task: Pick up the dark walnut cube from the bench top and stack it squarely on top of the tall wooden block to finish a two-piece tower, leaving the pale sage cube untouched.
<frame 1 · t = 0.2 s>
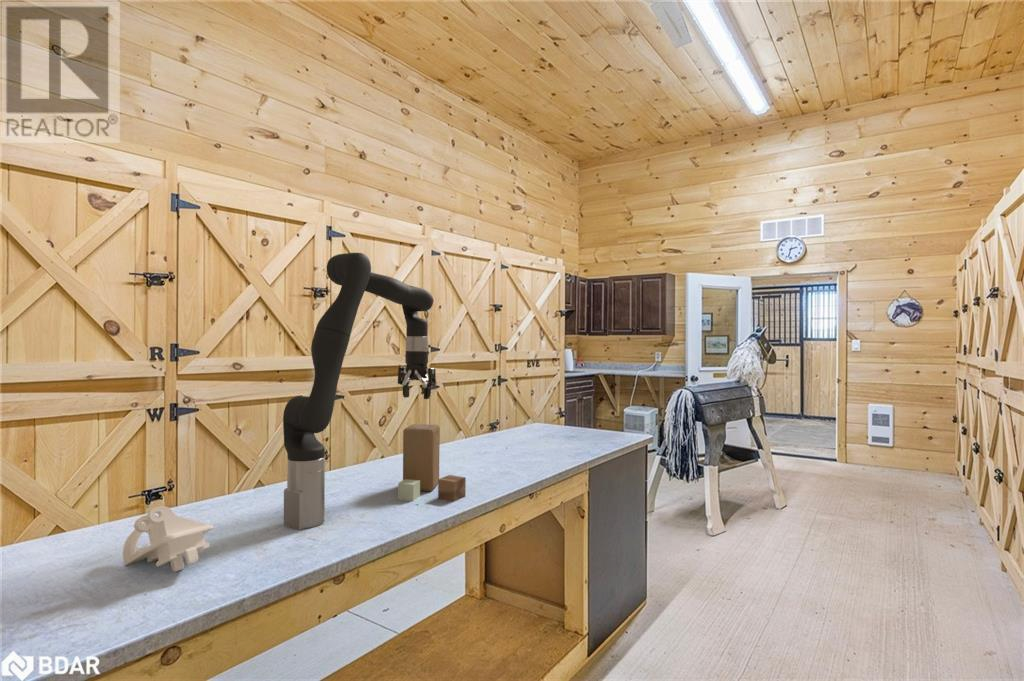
hand: (416, 398, 180), 29 cm above the counter, fingers open, 8 cm apart
beige angular piece: (166, 567, 114), on the counter
wooden block: (421, 487, 175), on the counter
sage cube: (409, 498, 164), on the counter
walnut cube: (451, 497, 165), on the counter
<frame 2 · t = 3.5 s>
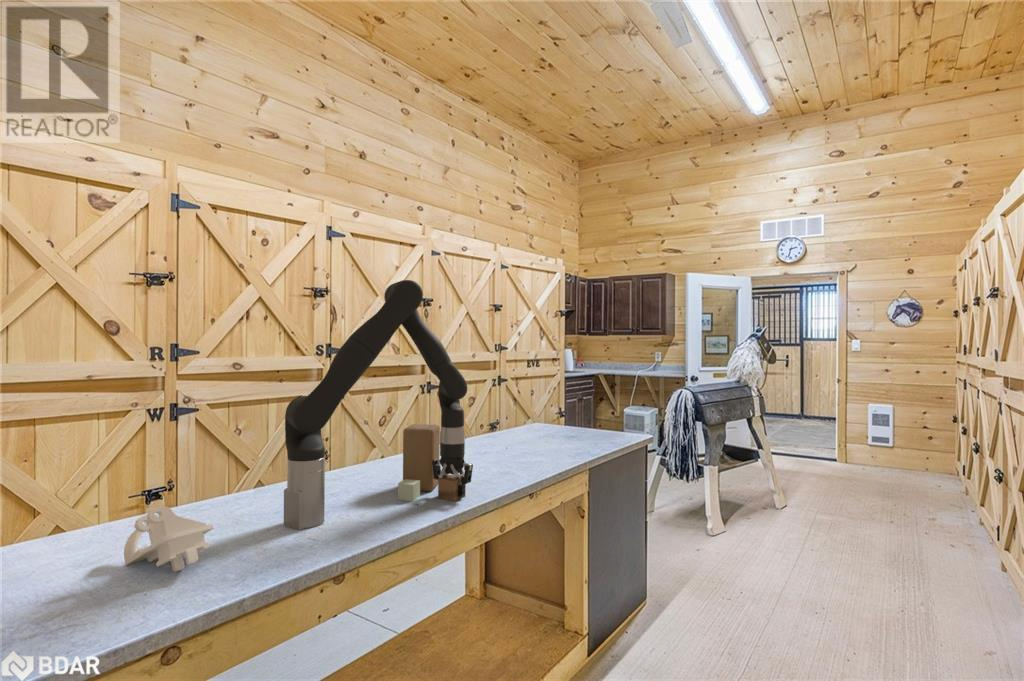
hand: (452, 495, 165), 1 cm above the counter, fingers closed on walnut cube, 6 cm apart
walnut cube: (451, 497, 165), on the counter, touching gripper
everything else where it was.
when the fingers open (22 cm above the counter, at t = 9.9 s): walnut cube drops 1 cm, resting on wooden block.
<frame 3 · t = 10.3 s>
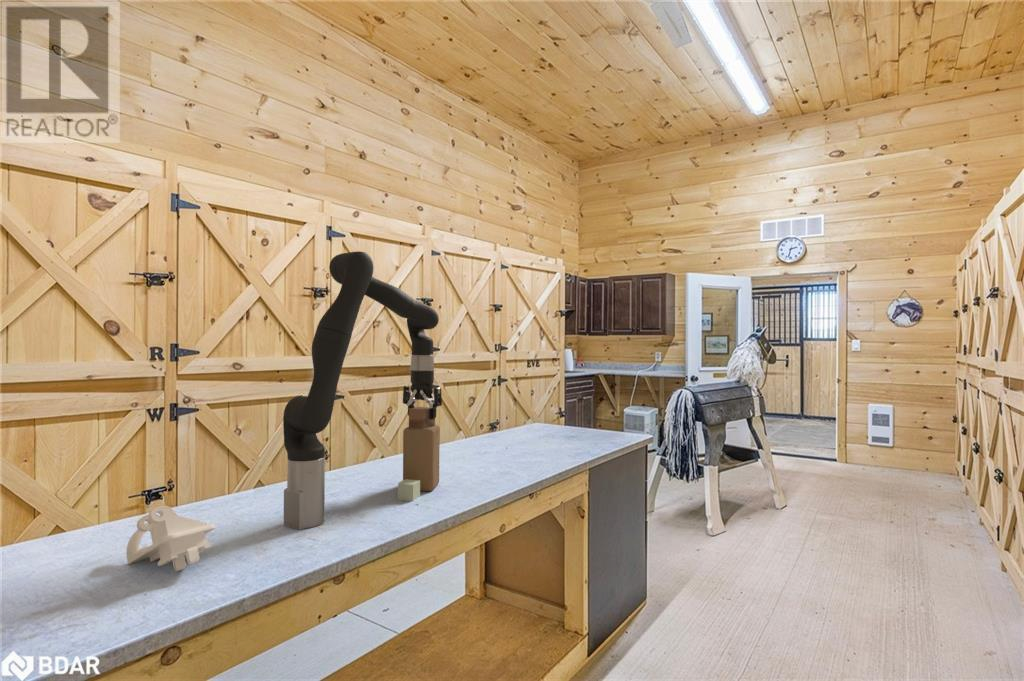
hand: (421, 418, 175), 23 cm above the counter, fingers open, 8 cm apart
wooden block: (421, 488, 175), on the counter, touching walnut cube
walnut cube: (421, 426, 175), point 20 cm above the counter, touching wooden block
everything else where it was.
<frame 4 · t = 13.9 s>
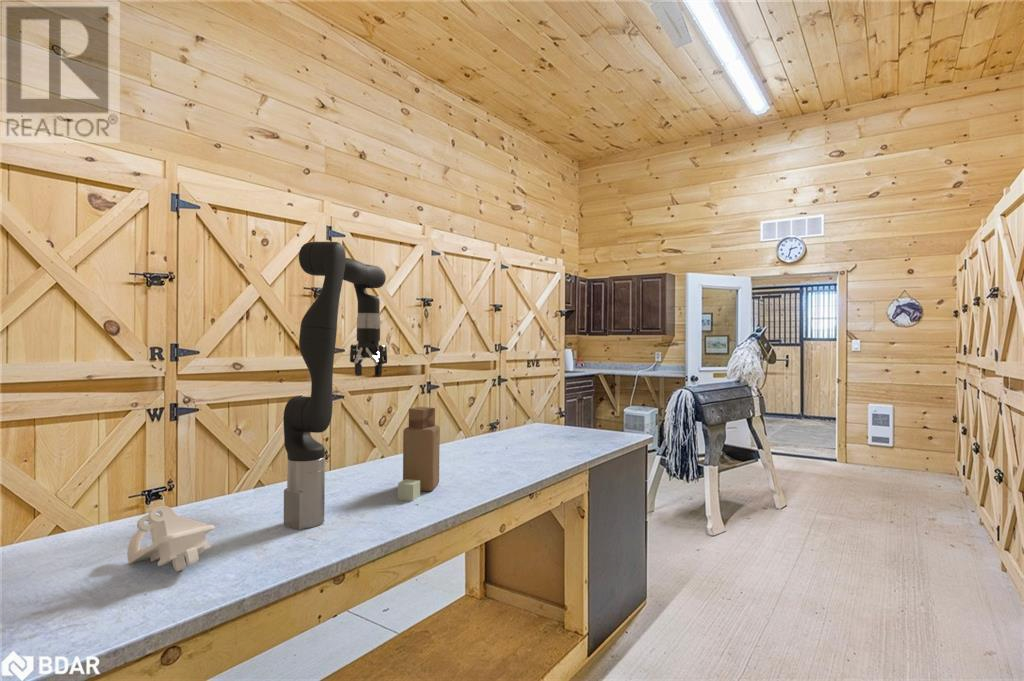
hand: (368, 376, 177), 36 cm above the counter, fingers open, 8 cm apart
nothing on the counter moved.
at the end: walnut cube 0.0 cm from the wooden block (horizontally); walnut cube point 19.9 cm above the counter; walnut cube tilted 0° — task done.
